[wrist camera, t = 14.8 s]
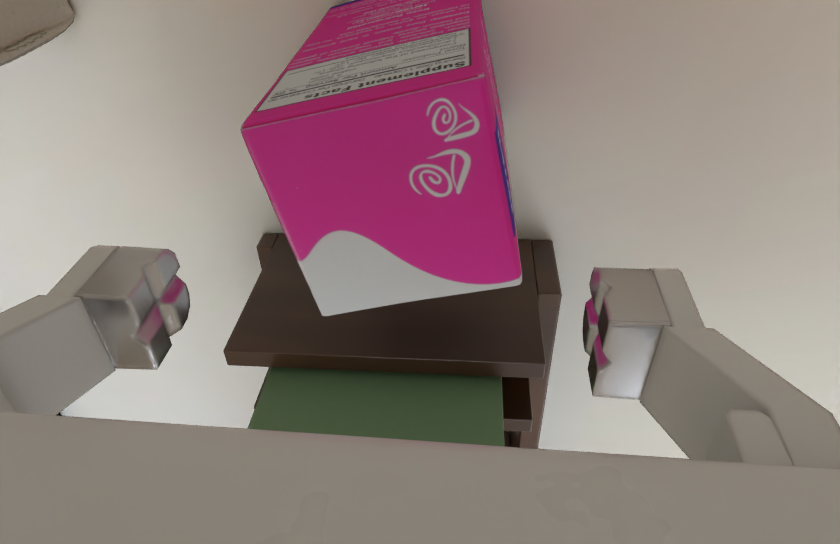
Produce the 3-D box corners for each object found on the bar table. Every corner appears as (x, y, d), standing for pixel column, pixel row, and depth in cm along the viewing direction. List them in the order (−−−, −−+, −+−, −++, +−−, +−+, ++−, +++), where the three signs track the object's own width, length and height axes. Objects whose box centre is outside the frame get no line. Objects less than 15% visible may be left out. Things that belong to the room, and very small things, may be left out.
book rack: (263, 232, 29) (202, 349, 22) (552, 239, 28) (574, 365, 21) (323, 507, 43) (296, 625, 37) (515, 518, 42) (521, 643, 36)
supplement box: (508, 117, 24) (526, 295, 15) (370, 144, 26) (310, 324, 16) (483, -36, 21) (486, 74, 12) (325, 3, 22) (220, 131, 13)
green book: (313, 254, 29) (223, 490, 19) (497, 259, 29) (507, 507, 18) (320, 297, 31) (241, 536, 21) (494, 303, 30) (501, 553, 20)
